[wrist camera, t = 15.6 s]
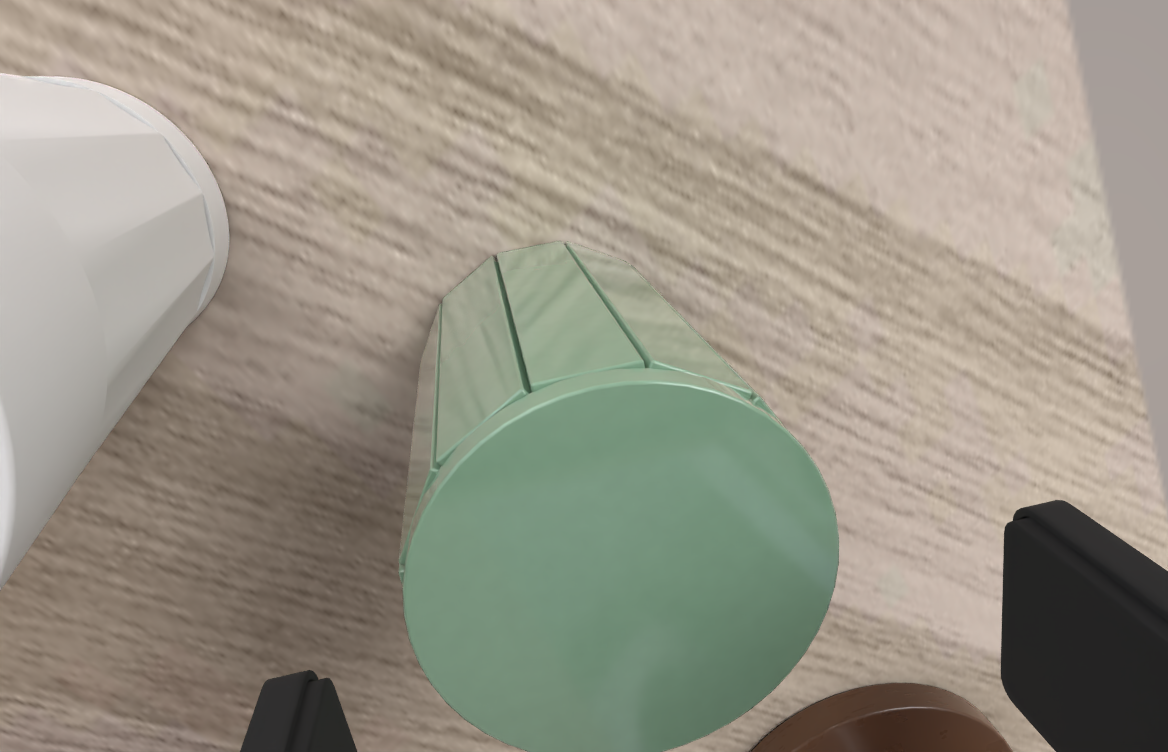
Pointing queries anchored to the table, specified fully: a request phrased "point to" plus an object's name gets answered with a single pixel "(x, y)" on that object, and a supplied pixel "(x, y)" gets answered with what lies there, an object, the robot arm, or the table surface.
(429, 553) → the green cup
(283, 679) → the robot arm
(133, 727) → the table surface
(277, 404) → the table surface
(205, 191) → the cup
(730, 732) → the table surface
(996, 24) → the table surface
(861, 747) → the towel stand
